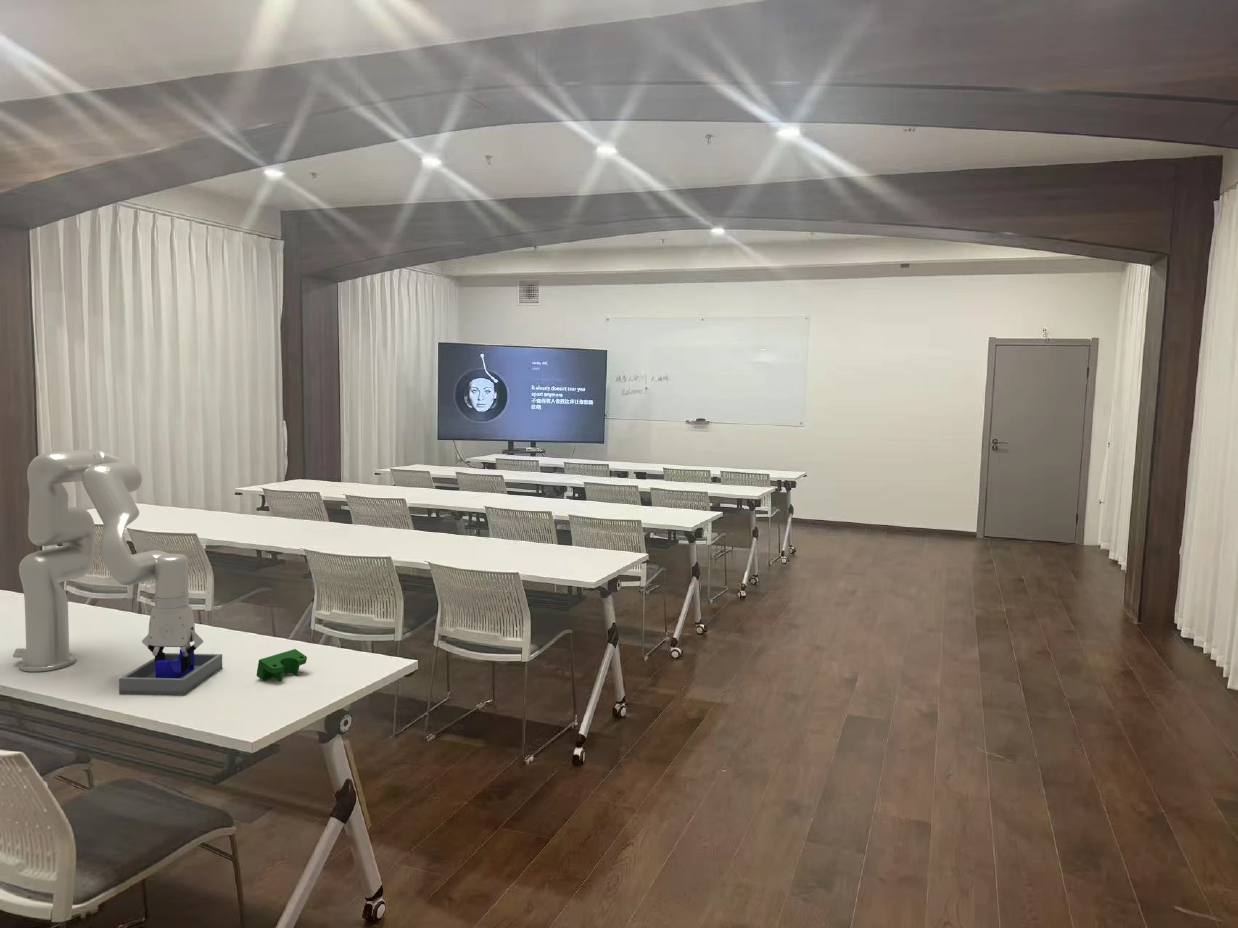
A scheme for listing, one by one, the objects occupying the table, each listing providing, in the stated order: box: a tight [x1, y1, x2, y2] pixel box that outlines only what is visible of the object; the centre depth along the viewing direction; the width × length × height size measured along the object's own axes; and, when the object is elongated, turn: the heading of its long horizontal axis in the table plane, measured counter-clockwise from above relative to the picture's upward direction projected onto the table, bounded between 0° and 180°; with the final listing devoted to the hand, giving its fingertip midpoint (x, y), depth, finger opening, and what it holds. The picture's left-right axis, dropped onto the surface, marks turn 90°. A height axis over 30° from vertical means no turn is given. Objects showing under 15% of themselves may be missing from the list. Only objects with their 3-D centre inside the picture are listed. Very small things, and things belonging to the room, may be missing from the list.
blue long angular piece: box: [155, 648, 195, 678], centre depth 207 cm, size 12×4×6 cm, turn 178°
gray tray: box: [118, 652, 223, 697], centre depth 207 cm, size 16×20×4 cm
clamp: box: [256, 648, 308, 682], centre depth 212 cm, size 12×6×9 cm, turn 144°
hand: (173, 668), depth 207 cm, fingers open, 5 cm apart
